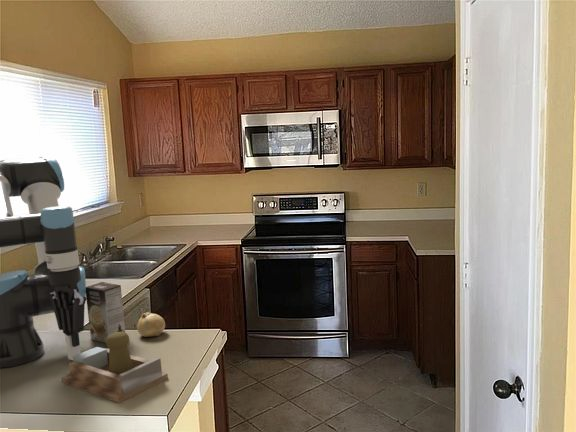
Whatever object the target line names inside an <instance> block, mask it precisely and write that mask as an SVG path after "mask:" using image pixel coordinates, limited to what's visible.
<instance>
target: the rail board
mask: <svg viewBox="0 0 576 432" xmlns="http://www.w3.org/2000/svg"><path fill="white" fill-rule="evenodd" d="M105 349H107V357H108V365H106V366H104V367H101V368H99V369H98V368H95V367H92V366H89V365H85V364H82V363H79V362H76V361H74V362H73V361H72V362H69V363H68V367H69V368H68V369H69V374H66V375H65V376H62V377H61V382H62V383H63V384H66V385H68V386H72V387H74V388H77V389H80V390H83V391H84V392H88V393H91V394H94V395H96V396H99V397H102V398H105V399H107V400H109V401H113V402H116V403H119V404H120V403H123V402H124V401H126V400H128V399H130V398H132V397H133V396H136V395H138V394H140V393H141V392H143V391H145V390H147V389H150V388H152V387H154V386H155V385H157V384H160V383H162V382H163V381H165V380H168V379H169V377H168V373H167V372H164V371H162V369H163V368H162V361H161V358H160V357H154V358H152V359H151V360H150V359H147V358H144V357H140V356H135V355H133V354H130V358H131V362H132V366H133V369H131V370H128V371H126V372H124V373H122V374H120V375H117V374H114V373H111V372H109V348H108V347H107V348H106V347H105Z"/></svg>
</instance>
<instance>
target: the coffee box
mask: <svg viewBox="0 0 576 432" xmlns="http://www.w3.org/2000/svg"><path fill="white" fill-rule="evenodd" d="M86 306H87V307H86V308H87V317H88V318H87V319H88V324H89V333H90V340H93V341H98V342H102V343H105V344H106V339H107V336H108V335H110V334H112V333H115V332H125V333H126V327H125V326H126V325H125V316H124V304H123V295H122V286H121V284H115V283H111V282H105V281H100V282H98V283H93V284H91V285H88V286H86Z"/></svg>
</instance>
